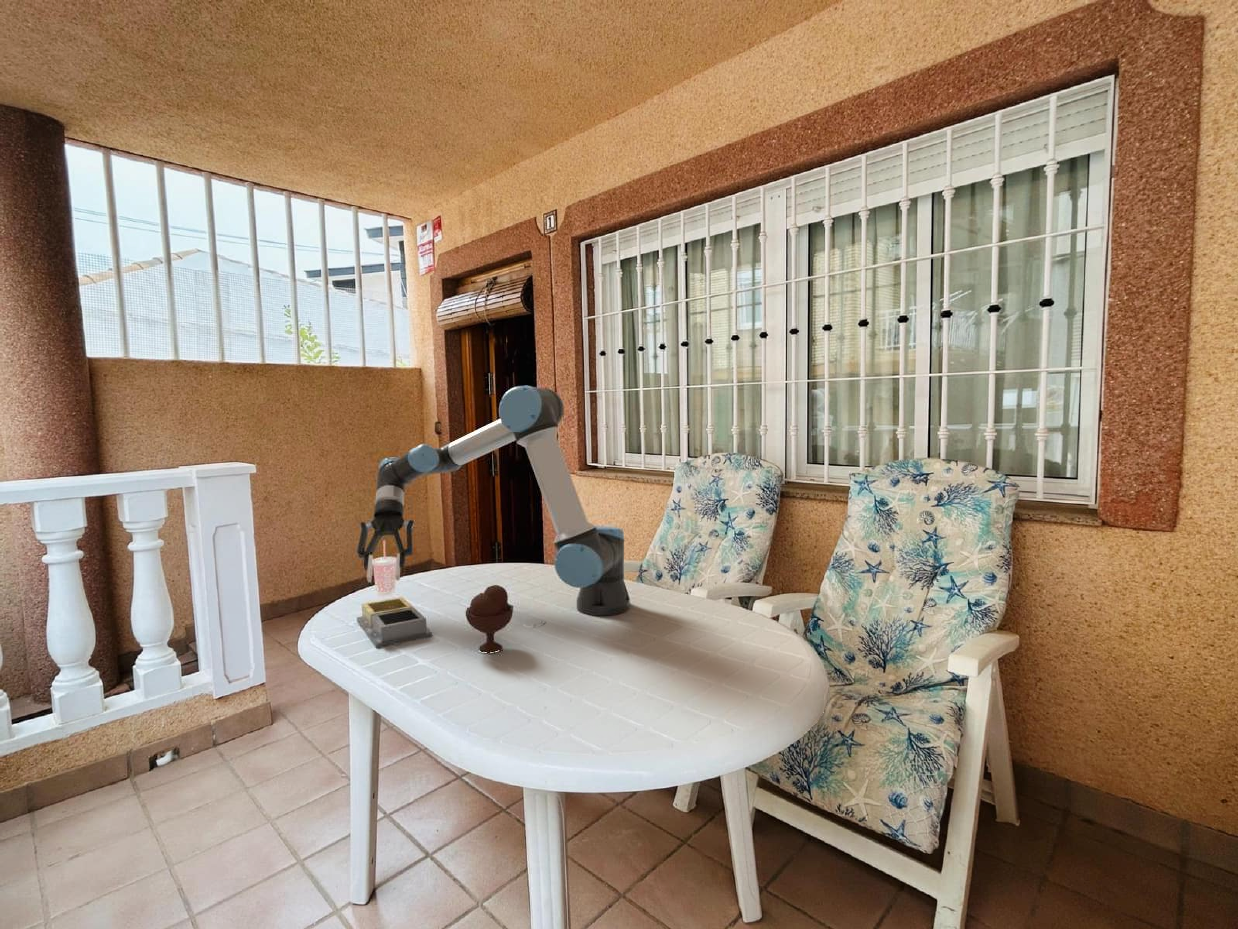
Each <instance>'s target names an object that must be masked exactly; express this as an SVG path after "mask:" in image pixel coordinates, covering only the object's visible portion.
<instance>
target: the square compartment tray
mask: <svg viewBox="0 0 1238 929" xmlns="http://www.w3.org/2000/svg"><path fill="white" fill-rule="evenodd" d="M356 622H357V623H358V625H359V626H360V628H362V630H363V631H364V633H365V635H366V636H367V637H368V638H369V640H370V642H371V643H372V644H373V645H374V647H375V648H377V649H378V648H381V647H388V646H391V644H392V645H395V643H397V644H400V643H406V642H411V641H416V640H420V639H424V638H423V637H425V638H429V637H428V636H430V637H432V636H433V631H432V630H431V629H430V628H428V626H427V619H426V617H425V616H424V615H423V614H421V612H419V610H417V608H415V607H414V606H413V605H412V604H411V603H410V602H409V601H407V600H406V599H405V598H404V597H403V596H399V597H393V598H387V599H383V600H378V601H377V600H376V601H371V602H363V603H362V604H361V616H357V617H356ZM431 635H432V636H431ZM419 638H420V639H419ZM410 640H411V641H410Z"/></svg>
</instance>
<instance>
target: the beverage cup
mask: <svg viewBox="0 0 1238 929" xmlns="http://www.w3.org/2000/svg"><path fill="white" fill-rule="evenodd" d="M382 541H383V542H382V544H383V545H382V546H383V547H382V549H383V556H381V557H377V558H373V560H372V564H373V576H374V587H375V595H376V596H382V597H384V596H391V595H394V594H396V576H395V573H396V558H397V556H396V557H395V556H386V554H387V553H386V540H385V539H384V540H382Z"/></svg>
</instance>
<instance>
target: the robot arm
mask: <svg viewBox="0 0 1238 929" xmlns="http://www.w3.org/2000/svg"><path fill="white" fill-rule="evenodd" d="M564 412H565V406H564V402H563V400H562V398H561V396H560V395H559V394H558V393H557V392H556V391H554V390H552V389H550V388H546V387H536V386H532V385H518V386H514V387H511V388H510V389H509V390H507V391H506V392H505V393H504V394H503V396H502V397H501V399H500V401H499V406H498V415H499V416H498V417H499V418H498V419H497V420H495V421H493V422H491V423H488V424H486V425H485V426H482V427H480V428H478V429H476V430H474V431H473V432H470V433H468V434H466V435H464V436H462V437H460V438H458V439H456V440H454V441H452V442H450V443H448V444H446V445H443V446H441V447H438V448H434V447H433V446H431V445H429V444H426V443H422V444H420V445H418V446H415V447H413V448H411V450H409V451H408V452H406V453H405V454H404V455H402V456H401V457H396V456H395V457H394V456H393V457H392V456H391V457H389V458H388V457H386V458H384V459H383V460H381V461H380V463H379V467H378V470H377V478H376V479H377V483H376V493H375V498H374V499H375V501H374V511H373V518H372V520H371V521H370V522H365V521H361V522H360V528H361V532H360V537H359V542H358V546H357V556H358V558H359V559H363V569H364V570H365V571H366V580H367V582H368V583H372V578H373V571H374V567H373V564H372V560H373V559H374V558H373V554H374V552H375V550H376V549H377V546H378V544H379V542H380V540H381V539H382V537H383V536H393V538H394V541H395V544H396V548H397V550H398V553H396V573H395V576H396V580H395V582H396V581H400V580H401V579H400V578H401V569H402V568H405V567H406V566H405V565H406V557H407V556H412V555H413V554H414V552H413V531H414V529H415V525H414V520H413V519H411V520H409V521H406V520H405V519H404V505H405V488H406V486H408V485H409V484H410V483H413V482H414V481H415V480H417V479H418V478H421V477H422V476H428V475H437V474H443V473H452V472H455V471H457V470H459V469H460V468H461V467H462V466H463V465H465V464H467V463H469V462H472V461H473V460H476V459H477V458H480V457H482V456H485V455H487V454H489V453H491V452H493V451H495V450H498V449H499V448H502V447H503V446H505V445H508V444H510V443H512V442H515V441H516V444H517V445H520V446H521V447H523V448H525V451H526V454H527V457H528V459H529V461H530V464H531V468H532V471H533V472H534V475H535V479H536V481H537V485H538V486H539V489H540V492H541V495H542V497H543V500H544V503H545V505H546V508H547V511H548V514H549V516H550V519H551V522H552V524H553V527H554V531H555V533H556V535H555V537H554V540H553V545H554V547H555V550H556V555H555V557H554V568H555V572H556V574H557V576H558V577H559V579H560V580H561V581H562V582H563V583H565V584H566V585H568V586H570V587H572V588H579V592H578V595H577V598H576V610H578V611H579V612H581V613H583V614H587V615H592V616H615V615H619V614H623V613H625V612H627V611H628V610H630V606H631V600H630V595H629V592H628V589H627V585H626V582H625V579H624V578H625V572H624V571H625V567H624V566H625V563H624V562H625V538H624V537H625V536H624V530H623V529H622V528H620V527H614V526H605V525H604V526H603V525H602V526H599V525H594V524H593V523H590V522H589V521H588V519H587V517H586V513H585V511H584V509H583V506H582V503H581V501H580V498H579V496H578V495H579V494H578V493H577V490H576V487H575V485H574V481H573V479H572V476H571V474H570V473H571V472H570V470H569V468H568V465H567V463H566V462H567V461H566V460H565V457H564V455H563V452H562V449H561V447H560V443H559V441H558V438H557V435H558V432H559V430H560V426H559V424H560V422H561V421H562V419H563V417H564V415H565V414H564ZM403 527H404V530H406V548H405V547H404V545H403V542H402V538H401V535H400V533H399V531H400V530H401V529H402V528H403ZM371 528H373V530H374V532H373V536H372V537H371V540H370V541H369V543H368V546H367V540H368V536H369V534H368V532H370V530H371ZM366 546H367V547H366Z"/></svg>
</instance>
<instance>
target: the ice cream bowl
mask: <svg viewBox="0 0 1238 929" xmlns="http://www.w3.org/2000/svg"><path fill="white" fill-rule="evenodd" d="M508 598H509V596H508V592H507V590H506V589H505V587H503V586H502V585H501V586H500V585H497V584H493V585H490V586H488V587H486V589H485V590H484V592H480V593H479V594H477V595H475V596H474V597H473V598H472V599H471V600H470V601H471V602H470V604H469V607H467V608H466V610H465V612H464V613H465V617H466V620H467V622H468V624H469V625H470V626H471V627H472V628H473V629H475V630H477V631H479V632H481V633H483V634H485V636H486V642H484V643H483V644H481V645H479V647H478V651H479V650H480V651H481V652H487V653H490V652H495V651H498V650H501V649H502V650H503V645H502V644H501V643H499V642H497V641H495V634H496V632H499V631H501V630H503V629H504V628H505V627H506V626H508V624H509V623H510V622H511V620H512V617H513V612H514V605H512V604H510V603H509V602H508ZM502 650H501V651H502ZM481 652H480V653H481Z"/></svg>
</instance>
